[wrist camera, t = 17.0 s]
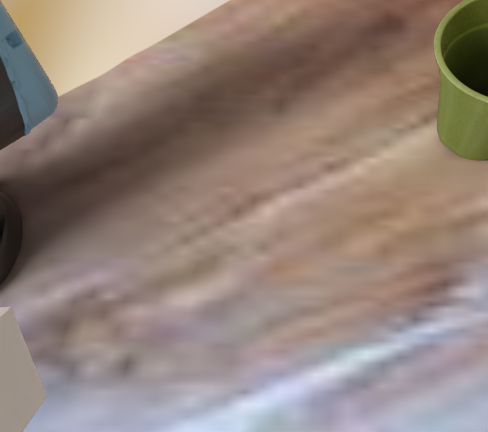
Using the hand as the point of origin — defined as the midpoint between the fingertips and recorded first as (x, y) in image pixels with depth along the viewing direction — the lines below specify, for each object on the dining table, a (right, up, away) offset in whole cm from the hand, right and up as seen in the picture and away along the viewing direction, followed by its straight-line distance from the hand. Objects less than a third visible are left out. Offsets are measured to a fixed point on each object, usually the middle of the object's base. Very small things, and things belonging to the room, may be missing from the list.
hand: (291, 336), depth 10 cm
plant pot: (+22, +11, +34) cm, 41 cm away
